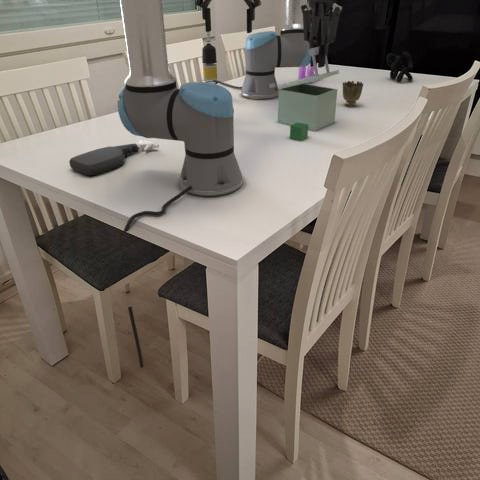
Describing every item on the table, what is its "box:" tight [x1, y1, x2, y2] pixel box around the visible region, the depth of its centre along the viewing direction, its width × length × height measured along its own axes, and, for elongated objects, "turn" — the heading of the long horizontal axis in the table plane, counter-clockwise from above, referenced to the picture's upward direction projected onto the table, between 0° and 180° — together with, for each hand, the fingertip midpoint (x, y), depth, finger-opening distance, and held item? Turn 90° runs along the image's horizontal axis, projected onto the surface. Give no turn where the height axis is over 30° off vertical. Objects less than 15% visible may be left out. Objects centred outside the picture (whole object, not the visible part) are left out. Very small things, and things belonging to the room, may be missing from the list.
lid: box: [278, 46, 340, 89], centre depth 142 cm, size 16×12×9 cm
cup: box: [342, 80, 364, 107], centre depth 165 cm, size 7×7×8 cm
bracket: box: [297, 65, 321, 84], centre depth 202 cm, size 13×6×7 cm, turn 143°
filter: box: [201, 31, 219, 85], centre depth 171 cm, size 6×6×30 cm
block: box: [289, 122, 309, 142], centre depth 137 cm, size 4×4×4 cm
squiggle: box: [385, 51, 414, 83], centre depth 198 cm, size 11×10×15 cm
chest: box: [277, 83, 338, 132], centre depth 148 cm, size 15×12×11 cm
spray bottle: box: [68, 139, 160, 177], centre depth 124 cm, size 3×11×24 cm
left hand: (228, 32), depth 139 cm, fingers open, 13 cm apart
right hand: (317, 66), depth 140 cm, fingers closed on lid, 2 cm apart
